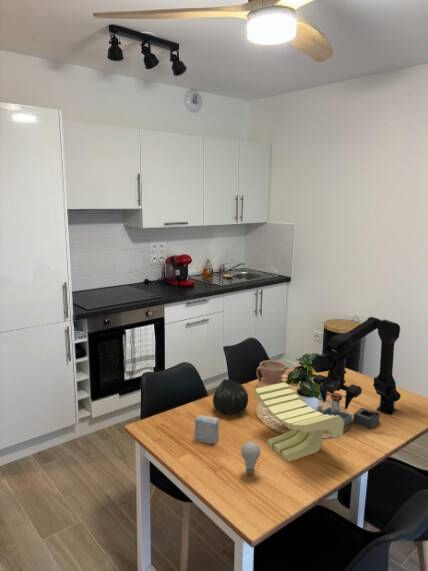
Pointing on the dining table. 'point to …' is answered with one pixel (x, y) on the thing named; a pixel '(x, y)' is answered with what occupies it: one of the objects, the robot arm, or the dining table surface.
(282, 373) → the ceramic jug
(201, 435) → the medicine box
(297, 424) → the slatted curved stool
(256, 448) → the lightbulb
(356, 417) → the hitch block
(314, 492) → the dining table surface
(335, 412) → the pin
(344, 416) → the tray
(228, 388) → the squash
